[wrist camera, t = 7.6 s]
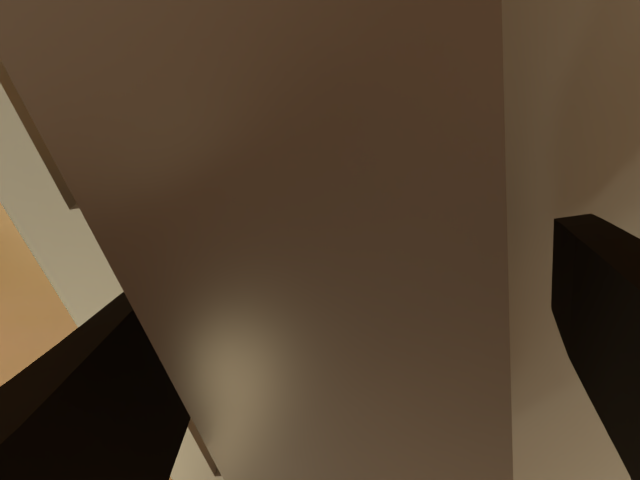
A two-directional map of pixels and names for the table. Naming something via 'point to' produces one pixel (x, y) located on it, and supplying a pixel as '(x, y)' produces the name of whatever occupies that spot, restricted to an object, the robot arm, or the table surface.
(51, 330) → the table surface
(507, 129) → the keyhole board
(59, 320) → the table surface
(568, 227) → the robot arm
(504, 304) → the brown notched block
